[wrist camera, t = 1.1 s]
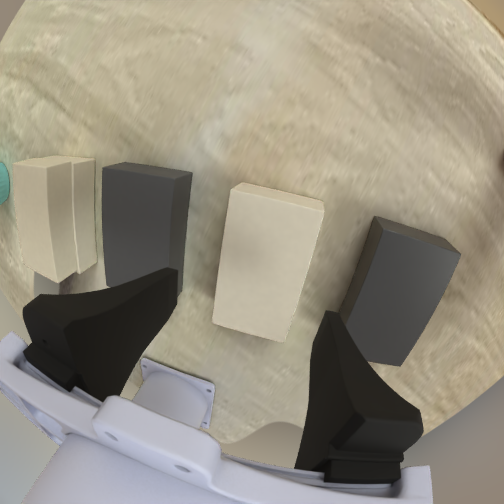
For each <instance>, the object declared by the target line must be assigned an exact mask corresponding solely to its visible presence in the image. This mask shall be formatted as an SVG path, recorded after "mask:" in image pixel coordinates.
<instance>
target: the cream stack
mask: <svg viewBox="0 0 504 504" xmlns="http://www.w3.org/2000/svg"><path fill="white" fill-rule="evenodd" d="M94 182H95V159H92V158H82V157H71V156H59V155H54V156H49V157H45V158H32V159H28V160H24V161H20V162H16V163H13V188H14V202H15V212H16V221H17V228H18V235H19V241H20V247H21V253H22V258H23V263H24V265H25V266H27V267H28V268H30V269H32V270H34V271H36V272H38V273H39V274H41V275H43V276H45V277H46V278H49V279H50V280H52V281H54V282H56V283H60V282H61V281H62V280H64V279H65V278H67V277H68V276H69V275H71V274H72V273H74V272H76V273H78V274H81V273H82V272H84V271H85V270H86V269H88V268H89V267H91V266H92V265H94V264H95V263H97V250H96V235H95V209H94Z"/></svg>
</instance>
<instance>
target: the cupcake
mask: <svg viewBox="0 0 504 504" xmlns="http://www.w3.org/2000/svg"><path fill="white" fill-rule="evenodd" d="M9 188H10V184H9V176H8V172H7V169H6V167H5V165H4V164H3V163H1V162H0V205H1V204H2V203H3V202H4V201H6V199H7V198H8V195H9Z"/></svg>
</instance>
